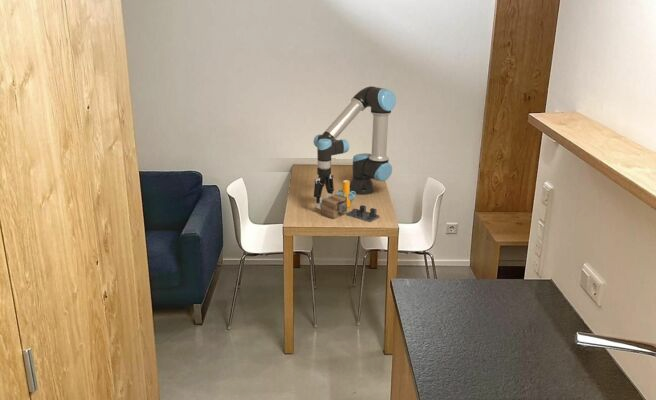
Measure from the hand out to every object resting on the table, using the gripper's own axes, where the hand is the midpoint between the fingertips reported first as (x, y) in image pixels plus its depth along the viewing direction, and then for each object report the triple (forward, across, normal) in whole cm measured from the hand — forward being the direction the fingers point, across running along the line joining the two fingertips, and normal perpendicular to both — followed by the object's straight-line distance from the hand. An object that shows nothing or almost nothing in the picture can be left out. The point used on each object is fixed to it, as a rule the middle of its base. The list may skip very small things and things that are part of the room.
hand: (323, 206), depth 343 cm
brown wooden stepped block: (+3, 0, +8) cm, 8 cm away
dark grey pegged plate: (+3, -8, +20) cm, 22 cm away
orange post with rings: (+3, -15, +4) cm, 16 cm away
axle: (0, 0, +7) cm, 7 cm away
